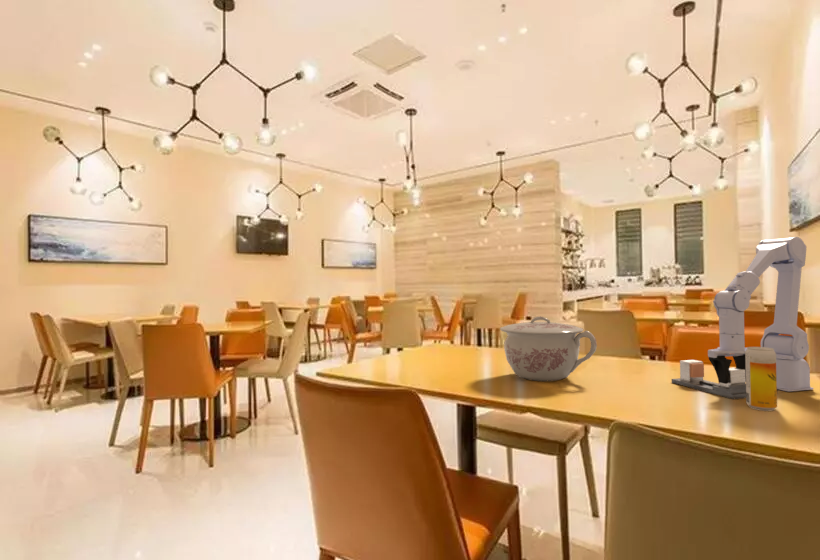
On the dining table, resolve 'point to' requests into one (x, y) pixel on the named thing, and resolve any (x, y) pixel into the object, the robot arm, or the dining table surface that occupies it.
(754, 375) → the beer can
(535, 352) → the chamber pot
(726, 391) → the rail
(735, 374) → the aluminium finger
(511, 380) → the dining table surface
